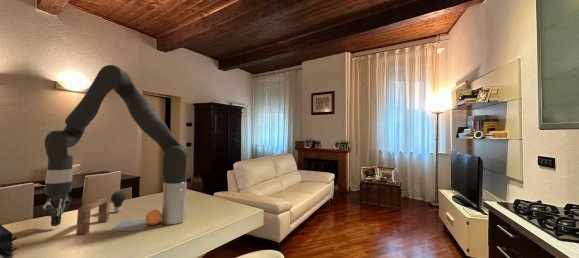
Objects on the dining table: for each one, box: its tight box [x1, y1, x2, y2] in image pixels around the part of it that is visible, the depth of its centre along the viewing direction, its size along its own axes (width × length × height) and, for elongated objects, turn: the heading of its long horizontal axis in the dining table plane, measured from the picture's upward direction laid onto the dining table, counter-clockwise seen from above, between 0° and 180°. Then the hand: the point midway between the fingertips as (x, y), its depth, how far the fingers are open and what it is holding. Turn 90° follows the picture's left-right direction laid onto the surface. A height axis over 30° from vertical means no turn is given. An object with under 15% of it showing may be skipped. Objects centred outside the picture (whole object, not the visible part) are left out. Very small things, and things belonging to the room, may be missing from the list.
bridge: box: [75, 197, 111, 236], centre depth 92 cm, size 3×15×10 cm, turn 12°
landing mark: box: [107, 219, 149, 233], centre depth 94 cm, size 12×12×1 cm
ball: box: [144, 209, 162, 226], centre depth 96 cm, size 6×6×6 cm
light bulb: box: [110, 191, 126, 213], centre depth 111 cm, size 6×6×10 cm
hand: (55, 225), depth 89 cm, fingers closed
